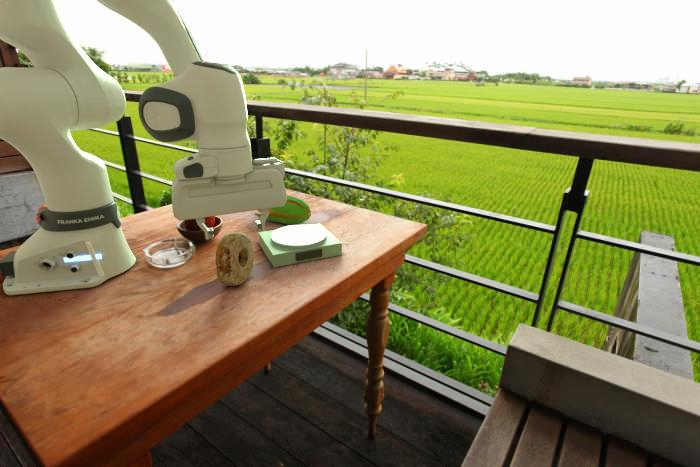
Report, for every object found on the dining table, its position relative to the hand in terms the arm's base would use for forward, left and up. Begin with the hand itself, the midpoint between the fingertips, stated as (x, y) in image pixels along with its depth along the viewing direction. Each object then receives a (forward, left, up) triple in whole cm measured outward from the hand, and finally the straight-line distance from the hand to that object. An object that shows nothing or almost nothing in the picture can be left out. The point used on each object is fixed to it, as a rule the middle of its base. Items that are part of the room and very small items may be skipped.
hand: (235, 234), depth 74 cm
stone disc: (0, 0, -10) cm, 10 cm away
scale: (+16, +10, -10) cm, 21 cm away
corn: (+17, +31, -10) cm, 37 cm away
